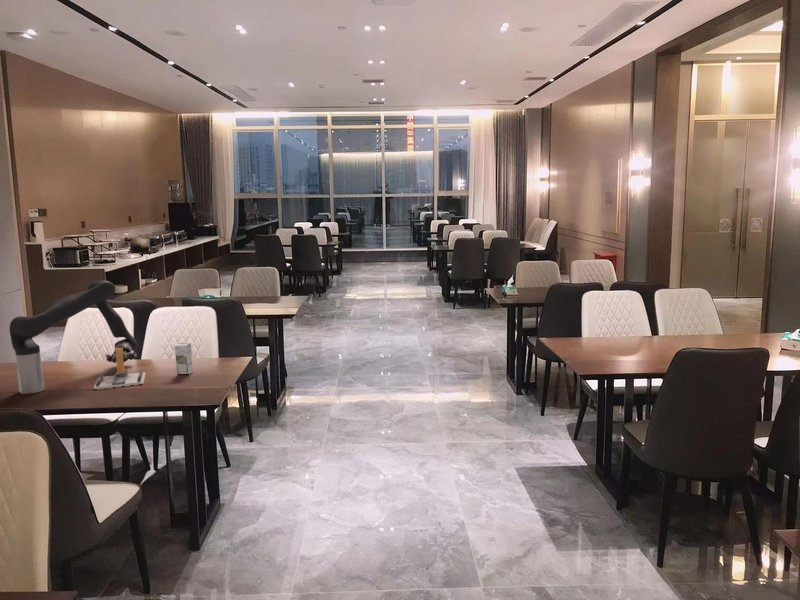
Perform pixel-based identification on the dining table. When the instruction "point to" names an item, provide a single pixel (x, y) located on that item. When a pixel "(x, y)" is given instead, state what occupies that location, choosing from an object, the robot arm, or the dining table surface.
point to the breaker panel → (120, 380)
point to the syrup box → (183, 358)
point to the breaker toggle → (120, 362)
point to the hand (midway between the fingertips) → (119, 360)
